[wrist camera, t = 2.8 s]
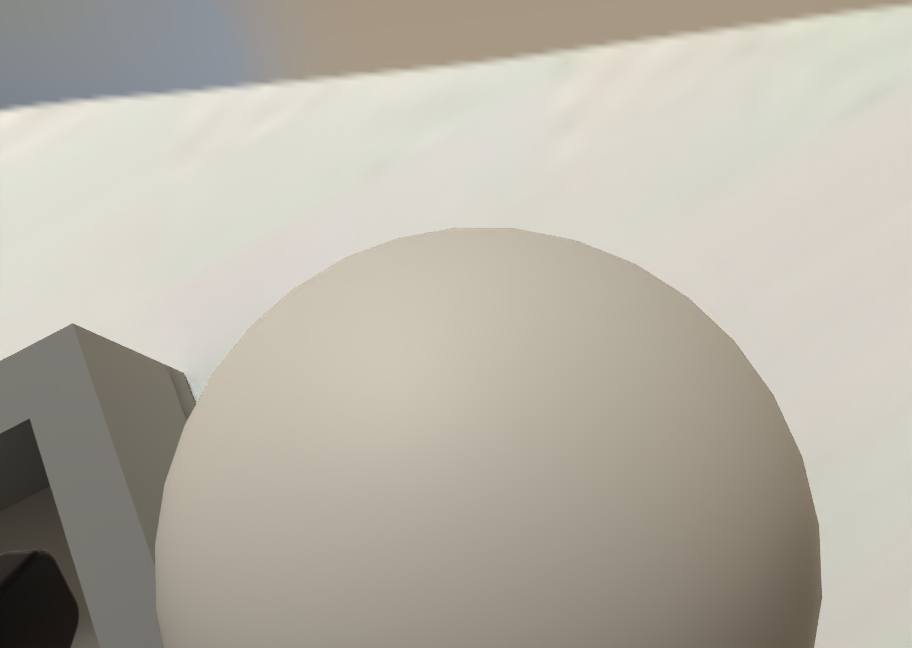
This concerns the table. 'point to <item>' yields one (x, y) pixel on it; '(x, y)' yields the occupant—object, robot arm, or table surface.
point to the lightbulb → (487, 465)
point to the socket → (91, 473)
